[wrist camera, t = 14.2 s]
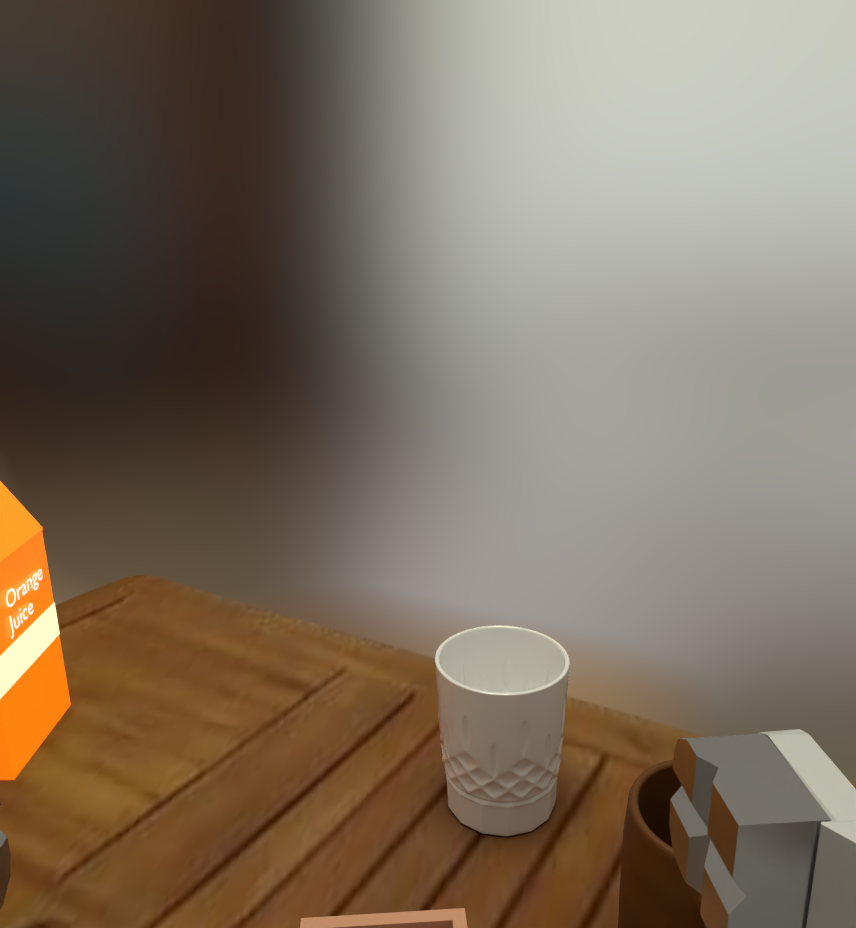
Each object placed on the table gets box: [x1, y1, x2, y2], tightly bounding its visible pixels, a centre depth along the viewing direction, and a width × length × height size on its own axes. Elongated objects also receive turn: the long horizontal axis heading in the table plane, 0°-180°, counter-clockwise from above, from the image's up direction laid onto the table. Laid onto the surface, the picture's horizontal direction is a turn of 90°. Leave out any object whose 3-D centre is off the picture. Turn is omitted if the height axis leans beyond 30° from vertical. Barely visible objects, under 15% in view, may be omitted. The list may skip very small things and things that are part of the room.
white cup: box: [435, 626, 570, 836], centre depth 49 cm, size 8×8×10 cm
